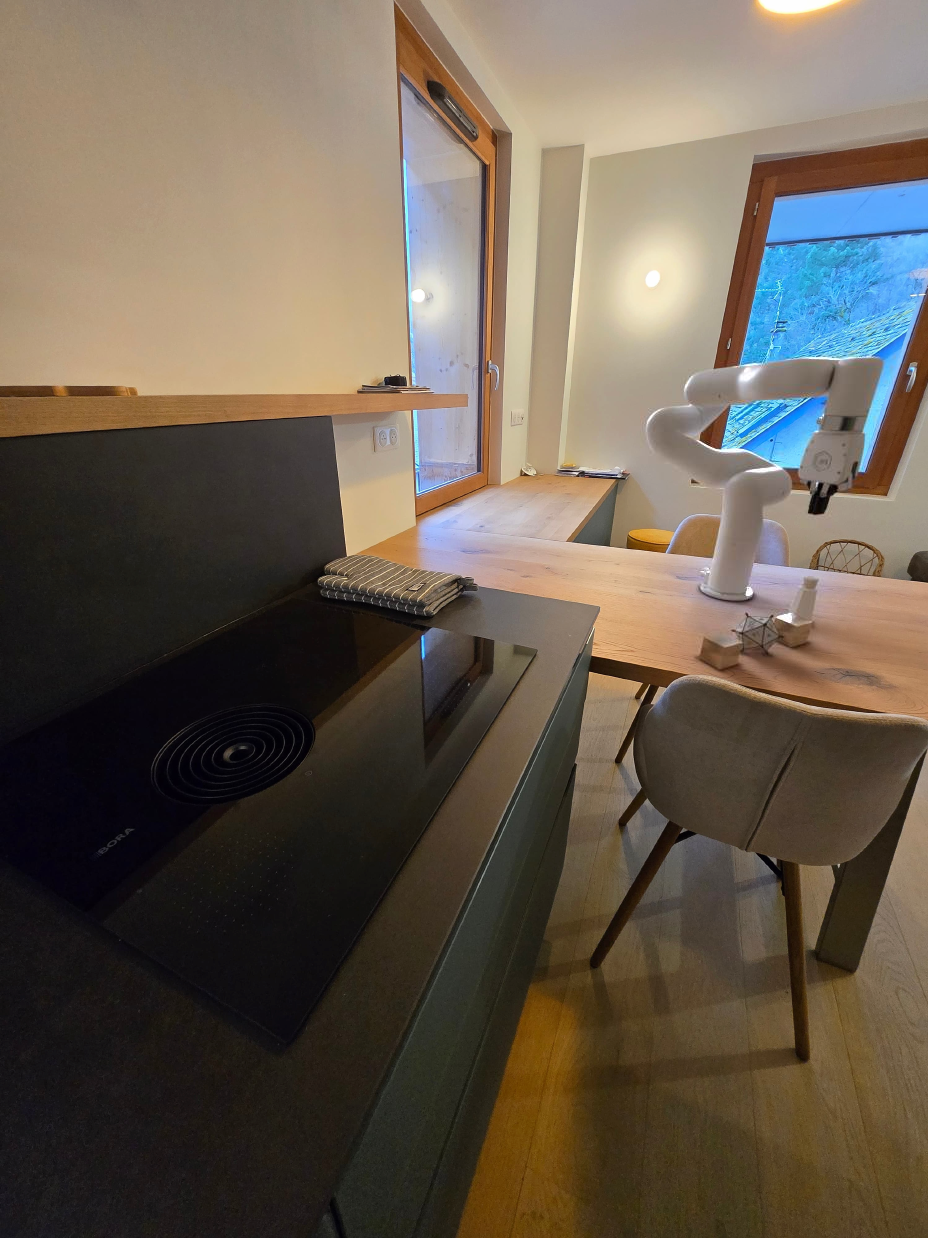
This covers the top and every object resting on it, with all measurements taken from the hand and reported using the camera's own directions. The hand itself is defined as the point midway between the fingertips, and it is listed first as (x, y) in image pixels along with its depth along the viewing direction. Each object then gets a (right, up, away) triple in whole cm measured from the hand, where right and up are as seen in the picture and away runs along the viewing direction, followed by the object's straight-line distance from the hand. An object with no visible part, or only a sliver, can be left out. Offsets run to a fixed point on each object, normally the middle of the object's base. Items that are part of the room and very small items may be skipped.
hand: (815, 513), depth 109 cm
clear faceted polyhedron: (-17, -30, -5) cm, 35 cm away
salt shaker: (0, -24, +7) cm, 25 cm away
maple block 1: (-26, -32, -9) cm, 42 cm away
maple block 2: (-7, -28, -1) cm, 29 cm away
